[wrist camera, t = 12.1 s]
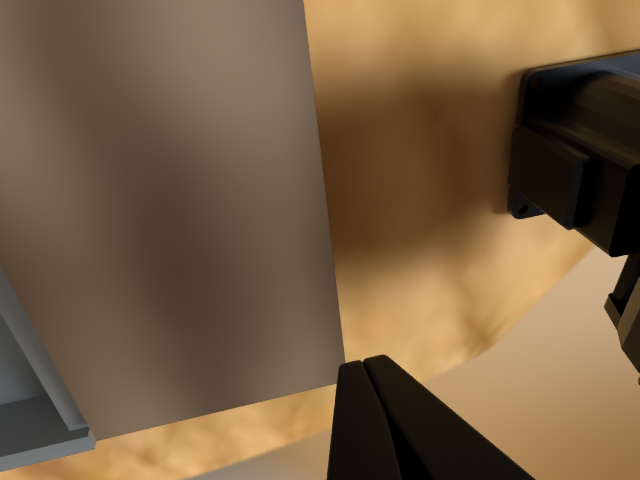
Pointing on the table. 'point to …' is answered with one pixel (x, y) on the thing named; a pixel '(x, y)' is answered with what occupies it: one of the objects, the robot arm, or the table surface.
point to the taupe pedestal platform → (167, 203)
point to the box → (33, 394)
